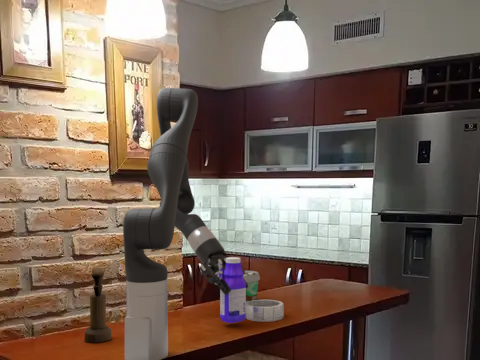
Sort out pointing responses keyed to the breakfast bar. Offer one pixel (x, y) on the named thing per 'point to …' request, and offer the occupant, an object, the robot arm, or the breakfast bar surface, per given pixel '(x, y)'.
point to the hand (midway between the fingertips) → (237, 290)
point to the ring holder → (264, 310)
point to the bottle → (233, 292)
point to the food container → (251, 285)
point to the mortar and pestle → (98, 312)
